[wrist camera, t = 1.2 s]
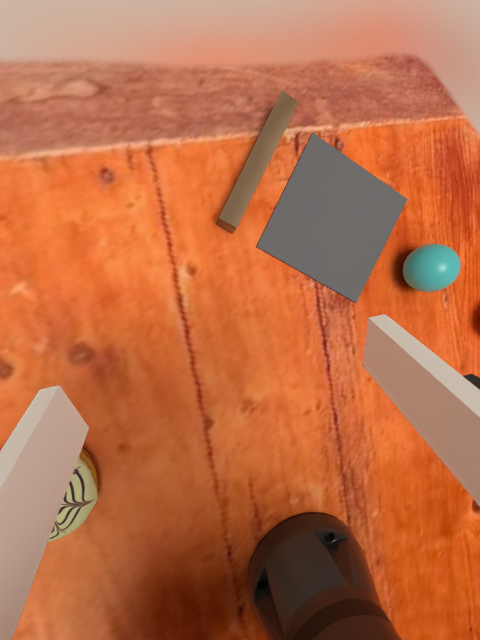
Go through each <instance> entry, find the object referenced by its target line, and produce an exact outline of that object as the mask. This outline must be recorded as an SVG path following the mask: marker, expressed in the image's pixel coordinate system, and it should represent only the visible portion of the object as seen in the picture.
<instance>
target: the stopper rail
mask: <svg viewBox="0 0 480 640" xmlns="http://www.w3.org/2000/svg"><path fill="white" fill-rule="evenodd" d="M298 103H299V102H298V101H296V100H295V99H293V98H292V97H291V96H289V95H288V94H287V93H285V92H284V91H281V93H280V95H279V97H278V99H277V101H276V103H275V105H274V107H273V109H272V111H271V113H270V115H269V117H268V119H267V121H266V123H265V125H264V127H263V129H262V131H261V133H260V135H259V137H258V139H257V141H256V143H255V145H254V147H253V149H252V151H251V153H250V156H249V158H248V160H247V162H246V164H245V166H244V168H243V170H242V172H241V174H240V176H239V178H238V180H237V182H236V184H235V186H234V188H233V190H232V192H231V194H230V196H229V198H228V200H227V202H226V204H225V206H224V208H223V210H222V212H221V214H220V216H219V219H218V221H217V225H219V226H220V227H222V228H224V229H226V230H228V231H229V232H231V233H233V232H234V231H235V230H236V228H237V226H238V224H239V222H240V220H241V218H242V216H243V214H244V212H245V210H246V208H247V206H248V204H249V202H250V200H251V198H252V196H253V194H254V192H255V190H256V188H257V186H258V184H259V182H260V180H261V178H262V176H263V174H264V172H265V169H266V167H267V165H268V163H269V161H270V159H271V157H272V155H273V153H274V151H275V149H276V147H277V145H278V143H279V141H280V139H281V137H282V135H283V133H284V131H285V129H286V127H287V125H288V123H289V121H290V119H291V117H292V115H293V113H294V111H295V109H296V107H297V105H298Z"/></svg>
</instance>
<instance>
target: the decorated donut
mask: <svg viewBox="0 0 480 640" xmlns="http://www.w3.org/2000/svg"><path fill="white" fill-rule="evenodd" d="M97 492H98V481H97V474H96V469H95V466H94V464H93V462H92V459H91V458H90V456H89V454H88V453H87V452H86V451H85V450H84V449H83V448H82V449H81V452H80V455H79V458H78V460H77V463H76V466H75V469H74V471H73V474H72V477H71V480H70V482H69V485H68V488H67V491H66V493H65V496H64V499H63V501H62V504H61V507H60V510H59V512H58V515H57V518H56V521H55V523H54V526H53V529H52V532H51V534H50V537H49V540H48V542H51V541H54V540H57V539H59V538H61V537H64V536H66V535H68V534H70V533H71V532H73V531H74V530H76V529H77V528H78V527H79V526H80V525H82V524H83V523H84V521H85V520H86V519H87V517H88V515H89V514H90V512H91V511H92V509H93V507H94V506H95V504H96V502H97V500H98V493H97Z"/></svg>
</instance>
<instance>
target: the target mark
mask: <svg viewBox="0 0 480 640" xmlns="http://www.w3.org/2000/svg"><path fill="white" fill-rule="evenodd" d="M406 201H407V199H406V198H405V197H403V196H402V195H400V194H399V193H398V192H396V191H395V190H393V189H392V188H391V187H389V186H388V185H386V184H385V183H383V182H382V181H381V180H379V179H378V178H376V177H375V176H373V175H372V174H371V173H369V172H368V171H366V170H365V169H364V168H362V167H361V166H359V165H358V164H356V163H355V162H354V161H352V160H351V159H349V158H348V157H346V156H345V155H344V154H342V153H341V152H339V151H338V150H337V149H335V148H334V147H332V146H331V145H329V144H328V143H327V142H325V141H324V140H322V139H321V138H319V137H318V136H317V135H315V134H314V133H312V135H311V137H310V139H309V141H308V143H307V145H306V147H305V149H304V151H303V153H302V155H301V157H300V159H299V161H298V163H297V165H296V167H295V169H294V171H293V173H292V175H291V177H290V179H289V181H288V184H287V186H286V188H285V190H284V192H283V194H282V196H281V198H280V200H279V202H278V204H277V206H276V208H275V210H274V212H273V214H272V216H271V218H270V220H269V222H268V224H267V226H266V228H265V230H264V232H263V234H262V236H261V238H260V240H259V242H258V244H257V246H256V247H258V248H259V249H261V250H263V251H265V252H266V253H268V254H270V255H272V256H273V257H275V258H277V259H279V260H281V261H282V262H284V263H286V264H288V265H289V266H291V267H293V268H295V269H296V270H298V271H300V272H302V273H304V274H305V275H307V276H309V277H311V278H312V279H314V280H316V281H318V282H319V283H321V284H323V285H325V286H327V287H328V288H330V289H332V290H334V291H335V292H337V293H339V294H341V295H342V296H344V297H346V298H348V299H350V300H351V301H353V302H355V303H356V302H357V300H358V298H359V296H360V294H361V292H362V290H363V288H364V286H365V284H366V282H367V280H368V278H369V276H370V274H371V272H372V270H373V268H374V266H375V264H376V262H377V260H378V258H379V256H380V254H381V252H382V250H383V248H384V246H385V244H386V242H387V239H388V237H389V235H390V233H391V231H392V229H393V227H394V225H395V223H396V221H397V219H398V217H399V215H400V213H401V211H402V209H403V207H404V205H405V203H406Z"/></svg>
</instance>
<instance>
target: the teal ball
mask: <svg viewBox="0 0 480 640" xmlns="http://www.w3.org/2000/svg"><path fill="white" fill-rule="evenodd" d="M460 266H461V265H460V259H459V257H458V255H457V254H456V252H455V251H454V250H452V249H451V248H450V247H448V246H445V245H441V244H428V245H424V246H421V247H419V248H417V249H415V250H414V251H413V252H411V253H410V254H409V255H408V257H407V258H406V260H405V262H404V264H403V277H404V279H405V281H406V282H407V284H408V285H409V286H411V287H412V288H414V289H416V290H418V291H422V292H435V291H439V290H442V289H444V288H446V287H448V286H449V285H450V284H452V283H453V282H454V281H455V279H456V278H457V276H458V274H459V272H460Z"/></svg>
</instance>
